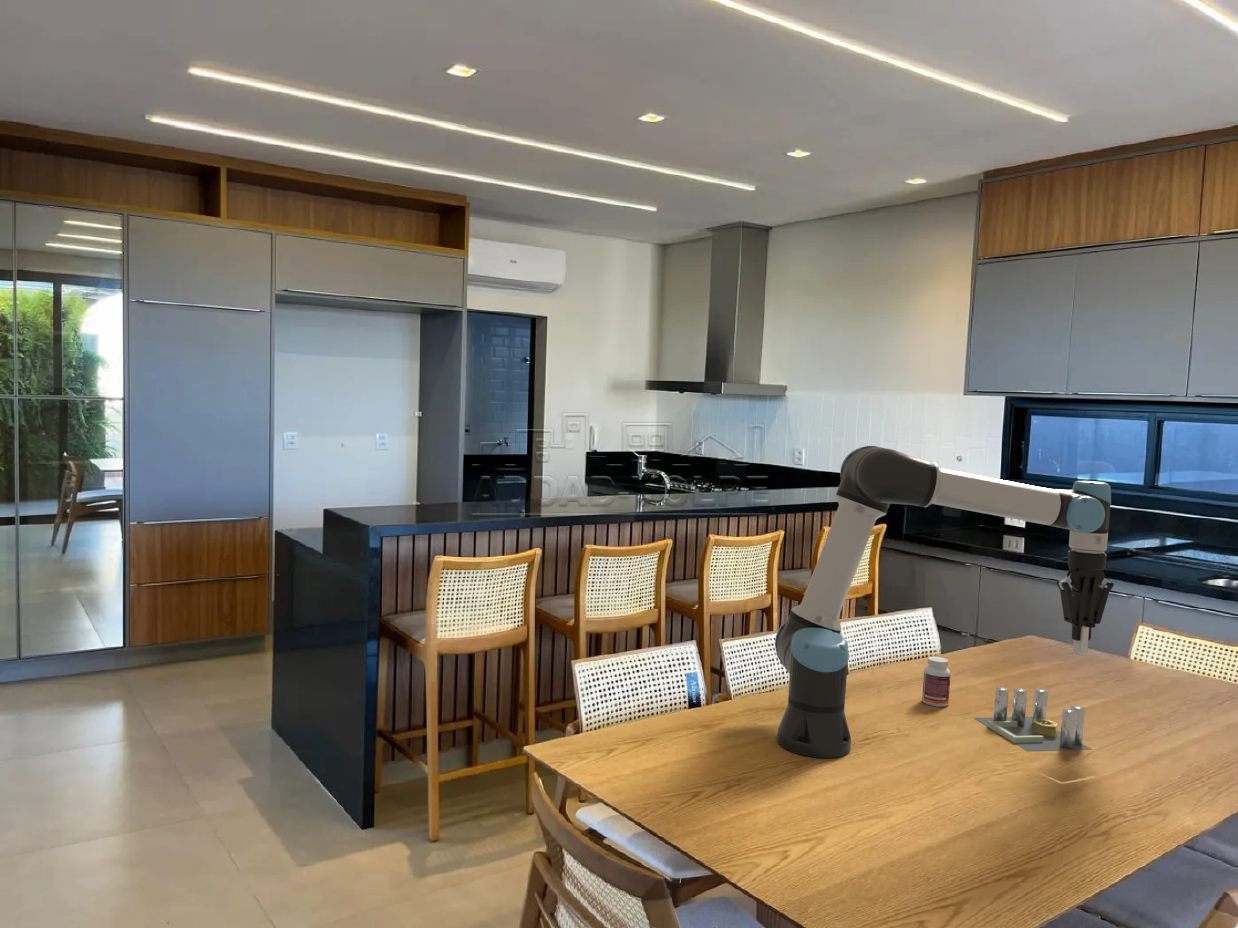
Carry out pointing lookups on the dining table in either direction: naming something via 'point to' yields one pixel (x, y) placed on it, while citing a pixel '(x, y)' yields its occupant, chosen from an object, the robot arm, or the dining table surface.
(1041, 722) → the nut
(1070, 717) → the spacer posts
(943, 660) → the pill bottle
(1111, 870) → the dining table surface
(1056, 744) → the mat
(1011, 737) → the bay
